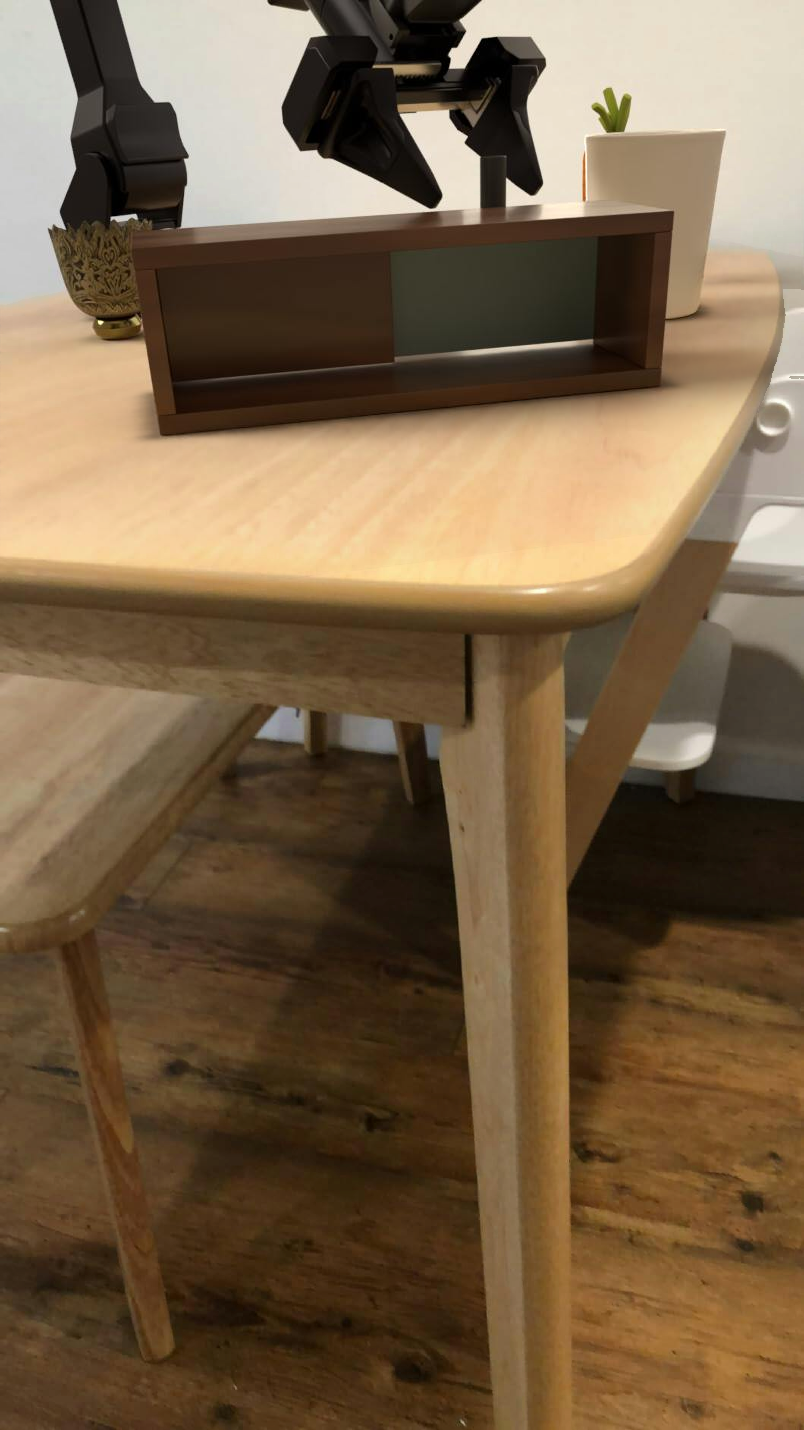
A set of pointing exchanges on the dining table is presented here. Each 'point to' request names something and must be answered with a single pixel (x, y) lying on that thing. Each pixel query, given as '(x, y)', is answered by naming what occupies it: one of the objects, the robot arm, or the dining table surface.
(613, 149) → the white plant pot
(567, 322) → the dark piece
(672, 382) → the dining table surface
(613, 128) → the carrot
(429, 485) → the dining table surface
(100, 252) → the cup
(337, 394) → the display case
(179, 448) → the dining table surface
